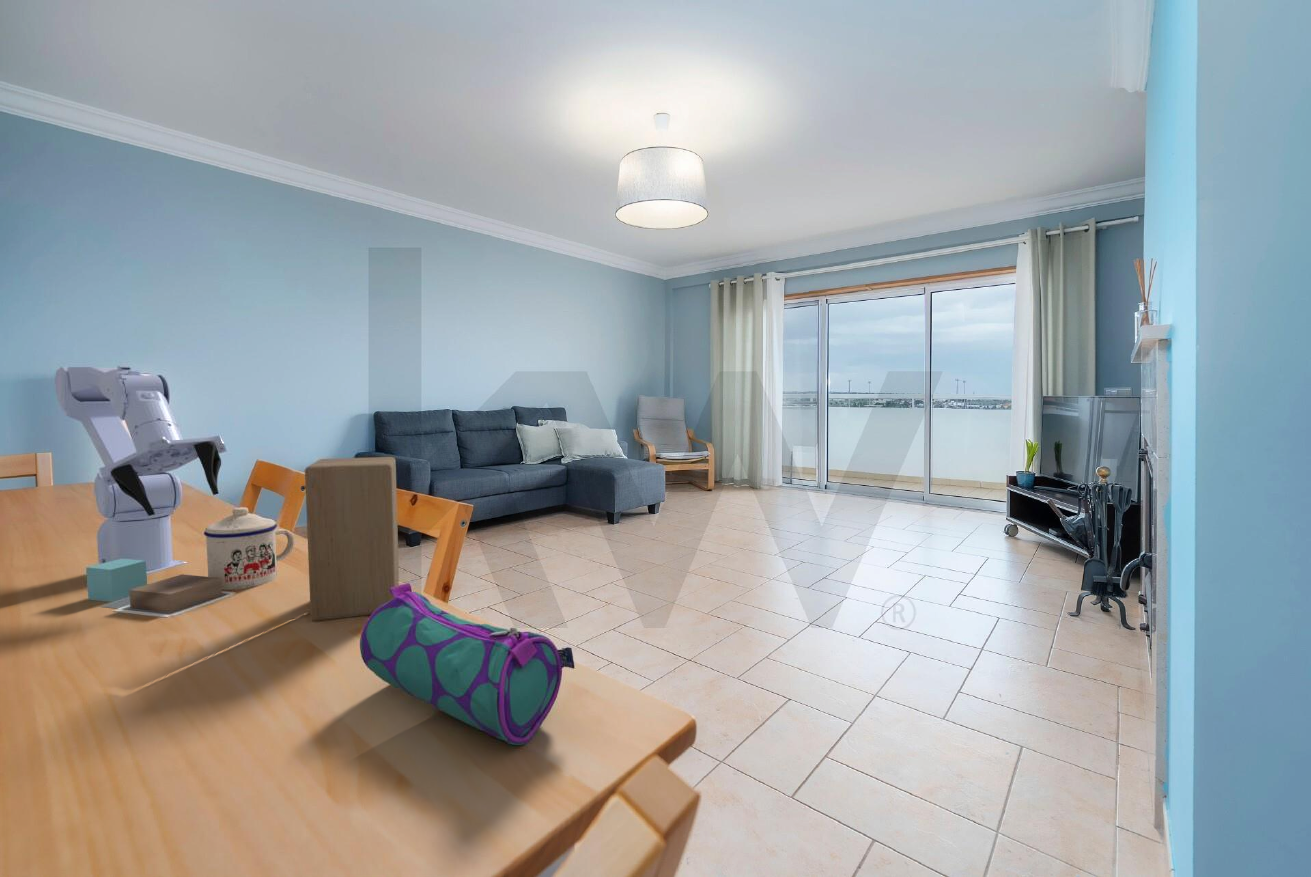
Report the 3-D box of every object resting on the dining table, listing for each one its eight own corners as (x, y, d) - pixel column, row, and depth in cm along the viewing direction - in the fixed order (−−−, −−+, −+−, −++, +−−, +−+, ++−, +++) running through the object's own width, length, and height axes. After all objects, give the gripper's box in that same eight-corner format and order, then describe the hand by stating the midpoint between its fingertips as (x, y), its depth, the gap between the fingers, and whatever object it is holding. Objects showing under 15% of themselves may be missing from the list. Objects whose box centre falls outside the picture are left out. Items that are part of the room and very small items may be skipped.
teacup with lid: (223, 597, 85) (219, 516, 84) (195, 586, 89) (191, 509, 89) (309, 575, 95) (306, 503, 94) (280, 566, 100) (277, 498, 99)
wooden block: (323, 597, 85) (318, 458, 83) (399, 589, 88) (395, 456, 87) (310, 622, 76) (303, 467, 74) (395, 612, 79) (391, 464, 78)
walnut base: (130, 608, 79) (129, 589, 79) (183, 591, 86) (182, 574, 86) (171, 612, 77) (170, 594, 77) (221, 595, 84) (221, 578, 84)
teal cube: (88, 602, 82) (86, 567, 82) (124, 592, 87) (121, 558, 86) (113, 605, 81) (110, 569, 81) (147, 594, 86) (145, 560, 85)
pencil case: (575, 718, 54) (575, 615, 53) (501, 769, 46) (499, 651, 46) (432, 660, 65) (430, 575, 65) (353, 694, 58) (350, 598, 57)
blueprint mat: (93, 611, 79) (93, 608, 79) (168, 588, 88) (167, 585, 88) (169, 620, 76) (169, 617, 76) (237, 595, 85) (237, 592, 85)
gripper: (82, 432, 83) (107, 505, 78) (205, 402, 91) (235, 465, 86) (102, 462, 88) (126, 532, 83) (217, 431, 96) (245, 493, 91)
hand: (182, 500), depth 85 cm, fingers open, 7 cm apart
